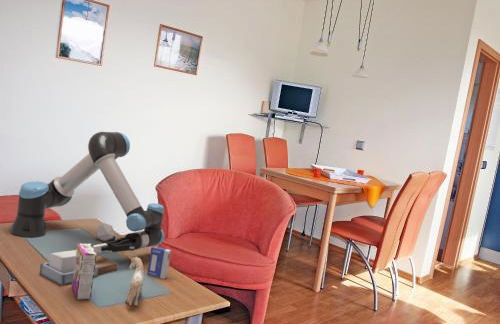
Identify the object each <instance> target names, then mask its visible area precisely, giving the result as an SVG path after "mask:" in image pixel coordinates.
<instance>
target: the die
mask: <svg viewBox="0 0 500 324" xmlns="http://www.w3.org/2000/svg"><path fill="white" fill-rule="evenodd" d="M94 230H95V235H96V238H97V239H96V240H99V241H101V242H102V241H104V240H107V239H110V238H112V237H113V236H115V233H114V227H113V225H111V224H109V223H106V222H104V223H102V224H100V225H98V226H97V227H96V228H95V229H94Z"/></svg>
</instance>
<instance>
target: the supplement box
mask: <svg viewBox="0 0 500 324" xmlns="http://www.w3.org/2000/svg"><path fill="white" fill-rule="evenodd" d="M76 252H77V249H73V250H66V251H65V250H64V251H57V252H51V253H50V256H49V261H48V262H49V267H51V268H53V269H55V270H57V271H59V272H61V273H63V274H64V273H69V272H73V271H74V267H75V260H76Z"/></svg>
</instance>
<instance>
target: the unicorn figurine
mask: <svg viewBox="0 0 500 324" xmlns="http://www.w3.org/2000/svg"><path fill="white" fill-rule="evenodd" d="M124 255H125V256H126V257H127V258H128V259H129V260H130V261H131V263H130V265H129V268H128V269H129V270H133V269H134V268H135V270H134V273H133V275H132V276H131V277H132V278H131V280H130V282H129V285H128V287H129V288H128V291H127V295H126V297H125V302H126V304H129V306H131V305H132V303H133V305H134V306H135V307H136V306H138V299H139V297H141V296H142V292H143V286H144V281H145V276H144V273H145V271H144V269H145V268H144V264H143V261H142V259H141V258H140V257H138V256H135V257H134V256H132V257H131V256H130V255H128V253H126V252H124ZM134 298H135V300H134ZM133 301H134V302H133Z"/></svg>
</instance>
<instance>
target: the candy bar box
mask: <svg viewBox="0 0 500 324" xmlns="http://www.w3.org/2000/svg"><path fill="white" fill-rule="evenodd" d="M92 246H93V245H92V243H81V242H80V243H77V247H76V250H77V252H76V260H75V267H74V275H73V282H72V283H71V288H72V290H73V293H74V296H75V298H76V300H80V301H81V300H91V298H92V290H93V283H94V278H95V277H94V270H95V262H96V256H97V255H98V254H97V253H96V252H95V250H94V248H93V247H92Z"/></svg>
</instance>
